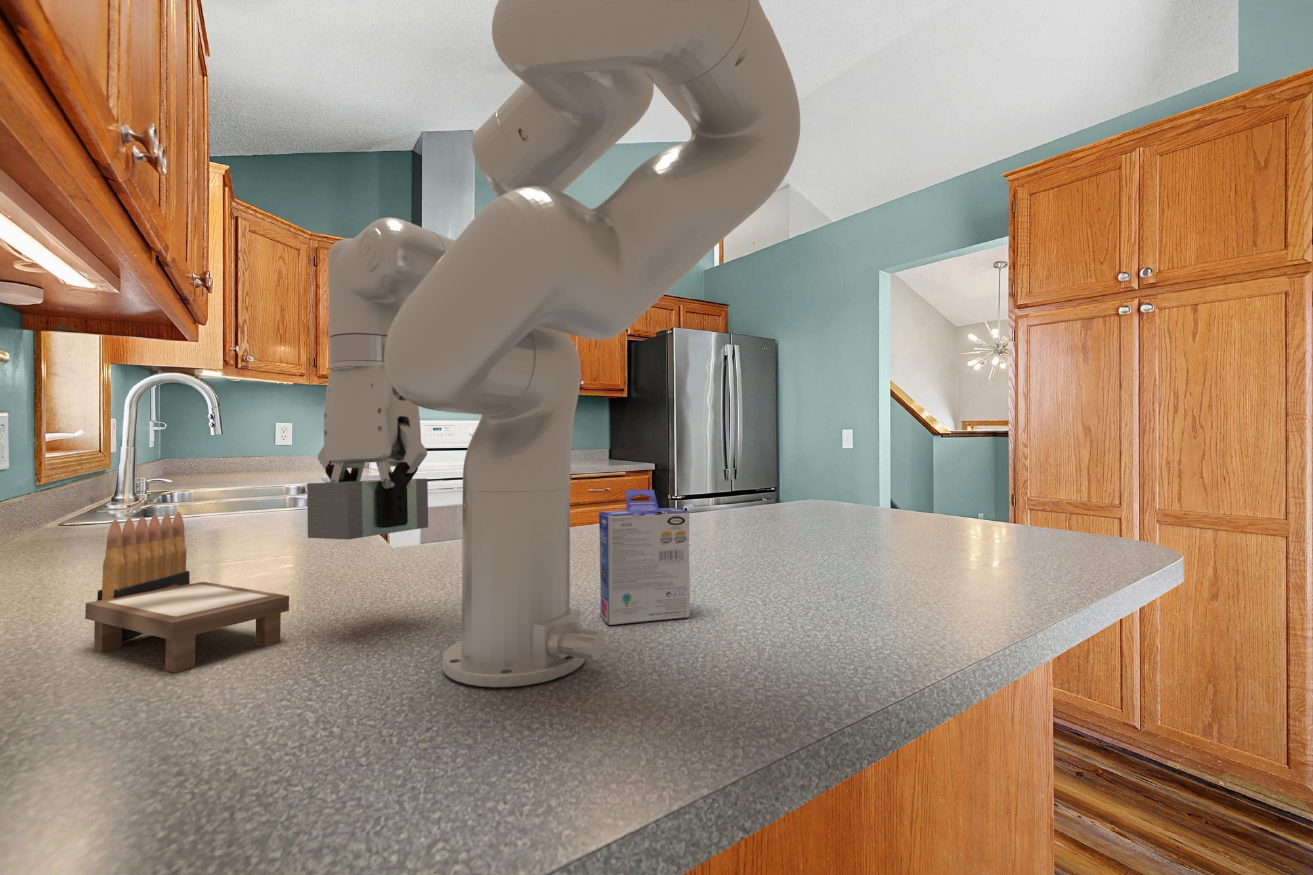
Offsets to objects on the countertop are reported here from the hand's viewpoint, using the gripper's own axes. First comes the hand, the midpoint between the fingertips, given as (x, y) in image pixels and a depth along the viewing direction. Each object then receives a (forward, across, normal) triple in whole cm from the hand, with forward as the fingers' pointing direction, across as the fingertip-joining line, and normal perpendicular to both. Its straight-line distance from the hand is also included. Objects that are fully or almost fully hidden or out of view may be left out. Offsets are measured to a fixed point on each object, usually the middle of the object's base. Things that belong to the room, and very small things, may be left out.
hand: (371, 524), depth 62 cm
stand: (+11, +12, +11) cm, 20 cm away
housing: (+1, 0, 0) cm, 1 cm away
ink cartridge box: (+12, -24, -17) cm, 32 cm away
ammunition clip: (+11, +23, +10) cm, 27 cm away
